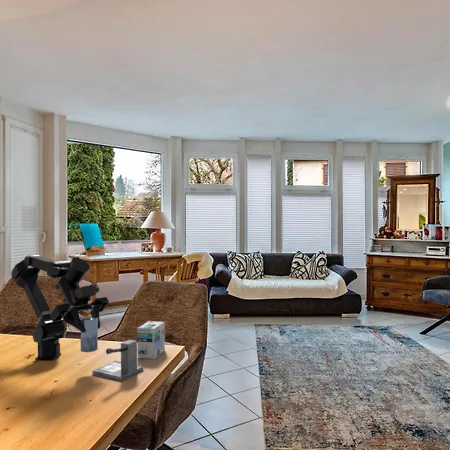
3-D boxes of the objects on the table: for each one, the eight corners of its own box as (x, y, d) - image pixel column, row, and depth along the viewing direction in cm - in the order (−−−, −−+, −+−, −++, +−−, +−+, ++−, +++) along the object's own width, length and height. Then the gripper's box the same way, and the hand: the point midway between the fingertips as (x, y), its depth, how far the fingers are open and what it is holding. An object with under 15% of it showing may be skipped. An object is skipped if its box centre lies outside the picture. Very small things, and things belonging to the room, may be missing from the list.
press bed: (81, 379, 117) (80, 344, 117) (115, 364, 130) (114, 332, 130) (110, 386, 112) (110, 349, 112) (143, 370, 125) (143, 337, 125)
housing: (79, 352, 121) (79, 317, 121) (81, 347, 126) (81, 313, 126) (97, 351, 122) (97, 316, 122) (98, 346, 128) (98, 312, 127)
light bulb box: (154, 359, 135) (154, 328, 135) (136, 358, 136) (136, 327, 136) (165, 350, 146) (165, 321, 146) (148, 349, 147) (148, 320, 147)
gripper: (55, 279, 119) (76, 320, 113) (106, 273, 134) (127, 309, 128) (41, 301, 124) (60, 342, 117) (91, 293, 139) (111, 329, 132)
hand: (91, 329), depth 124 cm, fingers closed on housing, 5 cm apart
